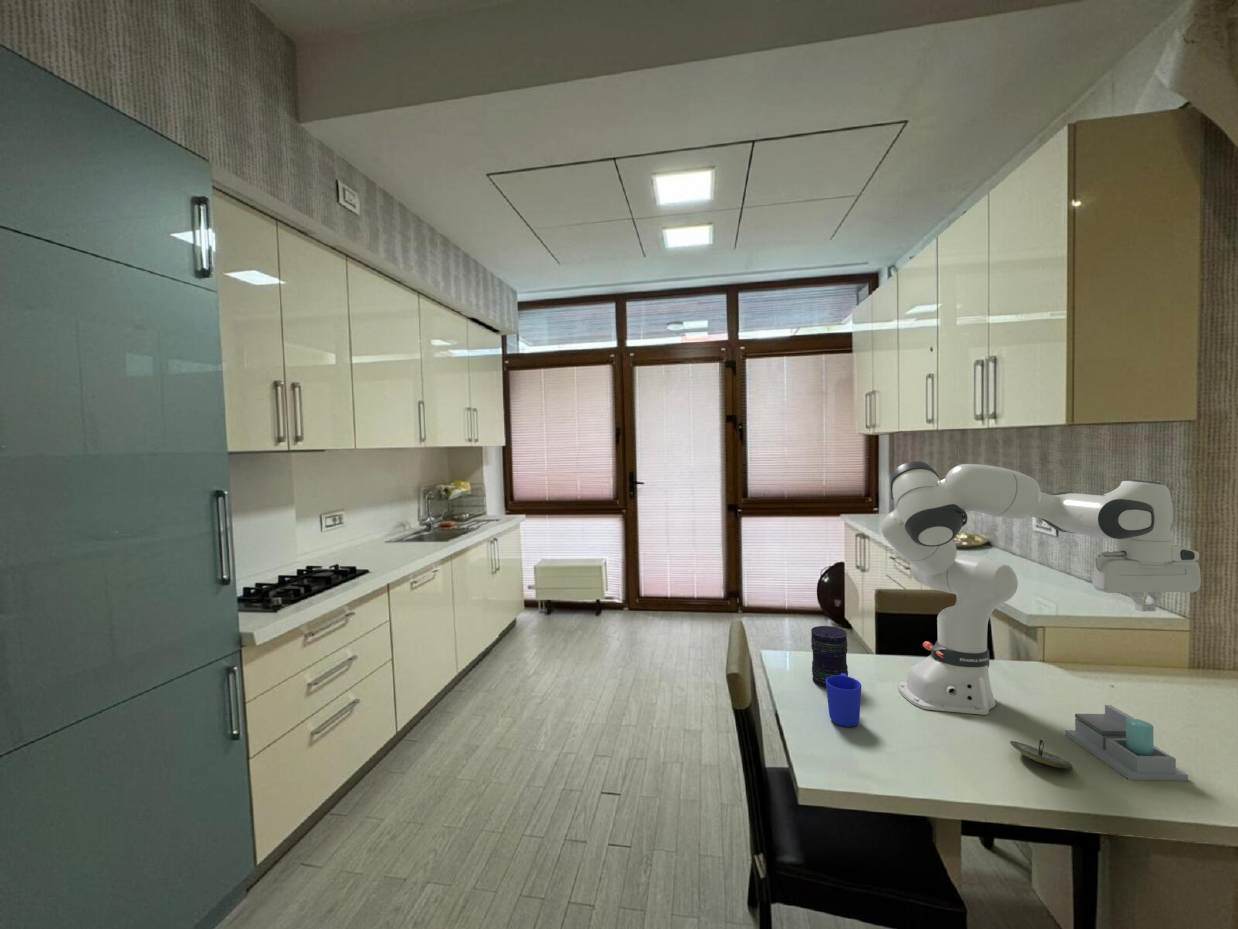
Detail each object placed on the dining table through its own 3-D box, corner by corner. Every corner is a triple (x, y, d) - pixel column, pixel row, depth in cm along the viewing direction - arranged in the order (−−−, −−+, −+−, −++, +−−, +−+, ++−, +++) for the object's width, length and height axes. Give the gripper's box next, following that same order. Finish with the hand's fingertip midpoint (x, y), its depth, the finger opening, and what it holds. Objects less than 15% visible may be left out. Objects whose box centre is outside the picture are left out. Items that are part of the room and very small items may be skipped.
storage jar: (817, 671, 155) (815, 623, 155) (851, 679, 149) (850, 629, 149) (808, 684, 147) (806, 633, 147) (844, 693, 141) (842, 640, 141)
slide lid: (1137, 734, 109) (1137, 720, 109) (1102, 734, 110) (1101, 720, 110) (1108, 717, 116) (1108, 703, 116) (1074, 717, 117) (1074, 703, 117)
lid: (1000, 758, 110) (999, 735, 110) (1024, 745, 114) (1024, 723, 114) (1059, 786, 101) (1059, 761, 101) (1083, 770, 105) (1083, 746, 105)
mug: (861, 709, 132) (860, 671, 132) (862, 733, 121) (861, 692, 121) (827, 703, 136) (827, 667, 135) (825, 726, 125) (824, 686, 124)
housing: (1188, 780, 101) (1188, 760, 101) (1129, 779, 102) (1128, 759, 102) (1116, 735, 117) (1115, 717, 117) (1065, 735, 118) (1065, 717, 117)
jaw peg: (1138, 767, 103) (1137, 728, 103) (1120, 755, 107) (1120, 718, 107) (1159, 767, 103) (1159, 729, 103) (1141, 755, 107) (1141, 718, 107)
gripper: (1108, 554, 113) (1108, 615, 113) (1207, 552, 111) (1208, 614, 111) (1084, 549, 119) (1085, 607, 119) (1178, 547, 117) (1178, 606, 118)
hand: (1145, 610), depth 115 cm, fingers closed
